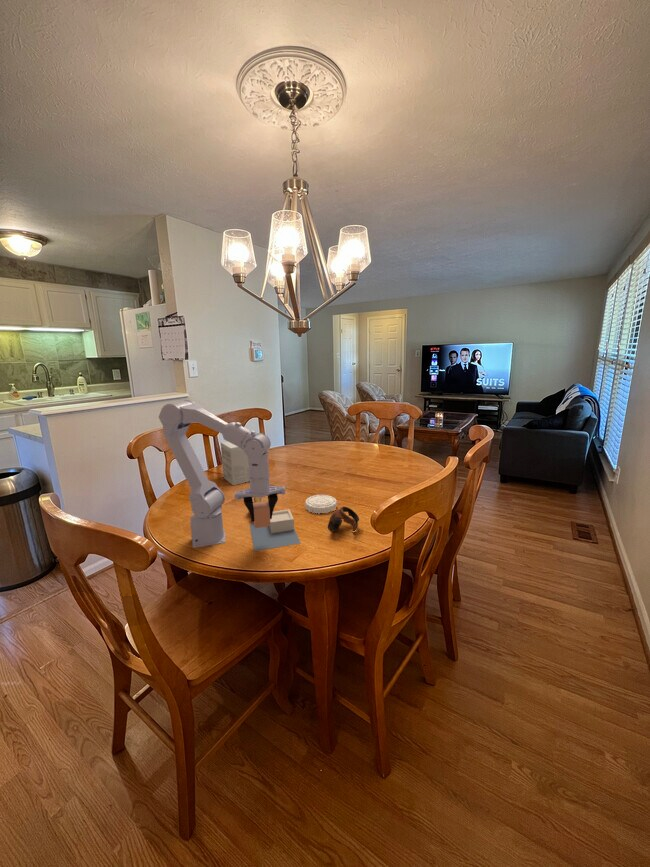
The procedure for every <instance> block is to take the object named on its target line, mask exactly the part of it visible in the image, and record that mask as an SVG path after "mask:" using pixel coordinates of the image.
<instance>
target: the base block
mask: <svg viewBox="0 0 650 867" xmlns="http://www.w3.org/2000/svg"><path fill="white" fill-rule="evenodd" d="M292 514H293V513H292V512H291V510H290V509H283V510H276V511H274V510H273V514H272V519H270V526H269V527H270V530H271V533H276V532H283V531H289V530H294V529H295V519H294V516H293V515H292Z"/></svg>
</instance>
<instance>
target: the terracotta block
mask: <svg viewBox="0 0 650 867" xmlns="http://www.w3.org/2000/svg"><path fill="white" fill-rule="evenodd" d="M263 501H264V500H263ZM263 501H261V502H256V503H255V502H253V513H254V522H253V524H254V526H255V528H260V527H266V526H270V507H269V504H268V500H267V501H264V502H263Z"/></svg>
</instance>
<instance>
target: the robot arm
mask: <svg viewBox="0 0 650 867" xmlns="http://www.w3.org/2000/svg"><path fill="white" fill-rule="evenodd" d="M158 419H159V421H160V423H161V425H162V429H163V430H162V431H163V437H164V439H165V441H166V443H167V445H168V447H169V449H170V450H171V452H172V454H173V457H174V458H175V460H176V462H177V464H178V466H179V468H180V470H181V472H182V474H183V475H184V477H185V480H186V481H187V483H188V485H189V487H190V493H189V496H188V500H189V502H190V504H191V506H190V507H191V511H192V513H193V514H191V515H190V520H189V521H190V533H191V534H190V536H191V538H190V539H191V543H192V549H195V548H200V547H207V546H212V545H213V546H214V545H219V544H226V529H224V522H223V520H224V519H223V510H222V509H223V506H222V505H223V504H224V503H225V500H226V496H225V493H224V492H223V490H221V488H220V487H218V485H217V483H216V482H214V481H212V480H210V479H209V478H208V477H207V474H206V472H205V470H204V468H203V466H202V464H201V462H200V460H199V458H198V456H197V454H196V453H195V451H194V448H193V446H192V445H191V443H190V441H189V439H188V436H187V432H188V429H189V427H190V425H191V424H193V423H194V424H195V423H198V424H200V425H202V426H205V427H206V428H209V429H211V430H213V431H215V432H217V433H220V434H221V435H222V437H223V440H225V442H227V441H228V442H230V443H232V444H234V445H236V446H238V447H239V448H241V449H243V450H244V452H245V454H246V455H247V456H248V464H249V481H250V482H249V488H247V489H242V490H238V491H234V500H235V501H239V500H243V503H244V505H245V507H246V508H247V510H248V512H249V516H250V515H251V516H250V518H251V522H252V523H254V513H253V503H254V500H253V498H254V497H258V498H261V499H262V498H265V497H266V496H267V501H268V504H269V507H270V519H272V514H273V512H274V510H275V507H276V504H277V503H278V500H279V497H278V495H282V496H284V495H286V487H285V485H282V486H277V485H275V486H274V485H273V486H271V485H270V467H269V466H270V465H269V464H270V462H269V461H270V460H269V450H270V449H271V446H272V445H271V440H270V438H269V437H268V435H266V434H265V433H263V432H259V433H257V432H256V431H255V430H251V429H248V428H246V427H244V426H242V423H241V422H239V421H237V422H235V421H233V422H229V423H228V422H226V421H225V420H223V419H222V418H220V417H219V416H216V415H214V413H211V412H210V411H208V410H206V409H205V408H203V407H202V406H201V404H199V403H196V402H194V401H193V400H189V399H184V400H183V401H178V402H175V403H167V404H165V405H163V406H162V408H161V410H160V413H159V415H158Z"/></svg>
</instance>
